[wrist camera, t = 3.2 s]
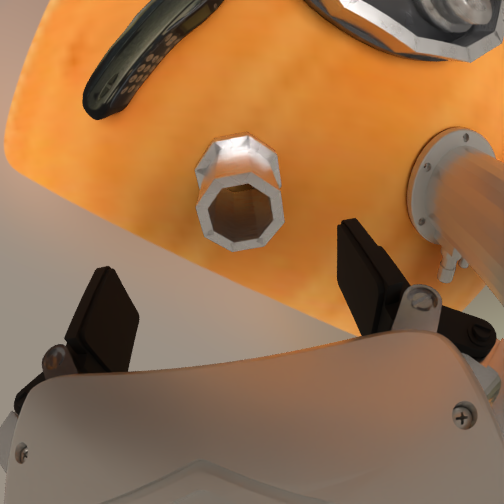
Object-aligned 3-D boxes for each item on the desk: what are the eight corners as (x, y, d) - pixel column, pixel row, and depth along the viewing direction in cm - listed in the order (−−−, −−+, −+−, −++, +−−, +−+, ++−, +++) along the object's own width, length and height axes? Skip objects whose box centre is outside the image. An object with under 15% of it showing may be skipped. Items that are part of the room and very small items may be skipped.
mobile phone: (100, 128, 15) (266, -50, 9) (68, 105, 14) (227, -73, 8) (126, 115, 19) (260, -26, 13) (99, 96, 18) (229, -46, 12)
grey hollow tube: (281, 199, 24) (299, 250, 17) (209, 212, 24) (201, 267, 18) (270, 127, 20) (288, 152, 14) (191, 143, 20) (172, 175, 14)
